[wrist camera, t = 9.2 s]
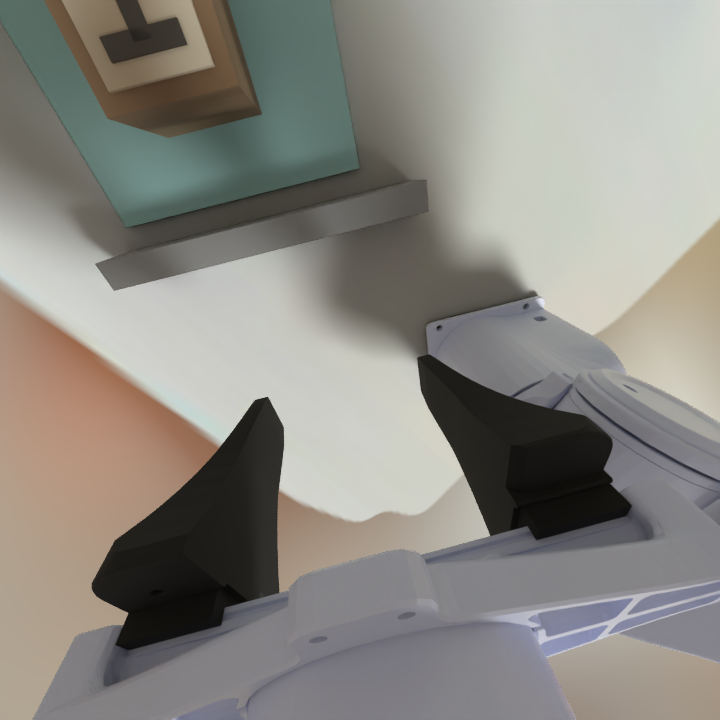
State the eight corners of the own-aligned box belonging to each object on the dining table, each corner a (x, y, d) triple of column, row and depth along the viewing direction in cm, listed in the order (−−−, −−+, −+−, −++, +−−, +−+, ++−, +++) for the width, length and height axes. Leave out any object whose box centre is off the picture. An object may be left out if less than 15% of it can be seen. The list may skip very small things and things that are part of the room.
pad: (288, -223, 10) (287, -238, 10) (358, 168, 17) (359, 168, 16) (-81, -124, 10) (-95, -135, 10) (130, 226, 17) (126, 227, 16)
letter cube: (215, -39, 12) (152, -174, 7) (262, 114, 15) (236, 82, 10) (101, -9, 12) (-31, -126, 7) (168, 137, 15) (101, 117, 10)
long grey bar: (410, 180, 17) (426, 179, 15) (413, 207, 18) (428, 211, 16) (127, 252, 17) (94, 263, 15) (142, 276, 18) (114, 290, 16)
